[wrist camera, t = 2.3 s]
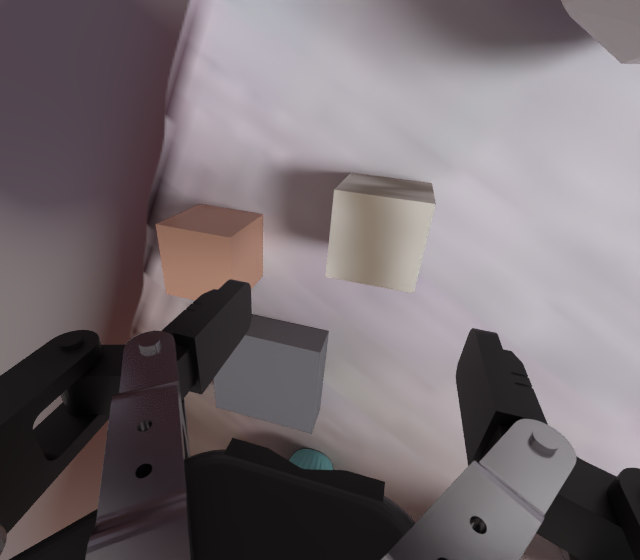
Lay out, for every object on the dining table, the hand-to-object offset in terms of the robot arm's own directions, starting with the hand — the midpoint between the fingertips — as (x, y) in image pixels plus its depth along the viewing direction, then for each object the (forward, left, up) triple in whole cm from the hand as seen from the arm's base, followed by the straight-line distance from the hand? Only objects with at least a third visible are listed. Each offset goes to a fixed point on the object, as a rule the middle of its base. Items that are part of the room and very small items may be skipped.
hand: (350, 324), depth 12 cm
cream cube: (0, 0, -14) cm, 14 cm away
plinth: (+8, +16, -14) cm, 23 cm away
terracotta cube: (+12, +4, -14) cm, 19 cm away
